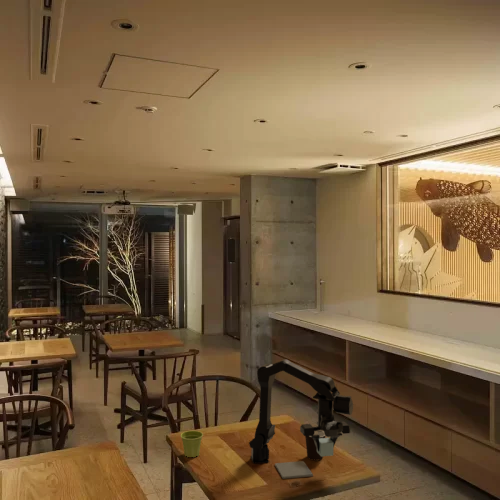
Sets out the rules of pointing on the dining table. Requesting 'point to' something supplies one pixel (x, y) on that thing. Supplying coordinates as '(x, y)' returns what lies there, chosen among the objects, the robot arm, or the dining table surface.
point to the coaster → (293, 469)
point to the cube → (325, 447)
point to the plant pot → (191, 443)
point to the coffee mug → (313, 447)
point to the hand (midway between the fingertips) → (324, 450)
